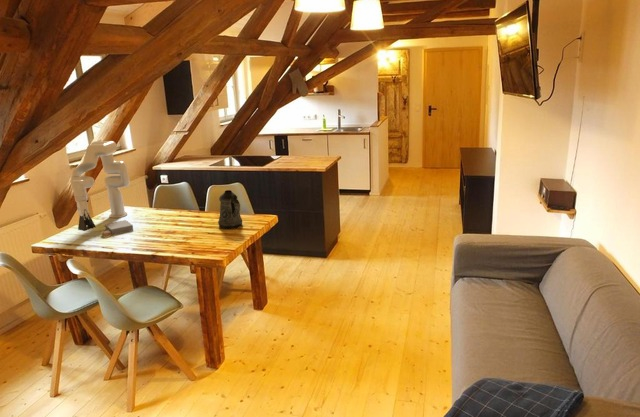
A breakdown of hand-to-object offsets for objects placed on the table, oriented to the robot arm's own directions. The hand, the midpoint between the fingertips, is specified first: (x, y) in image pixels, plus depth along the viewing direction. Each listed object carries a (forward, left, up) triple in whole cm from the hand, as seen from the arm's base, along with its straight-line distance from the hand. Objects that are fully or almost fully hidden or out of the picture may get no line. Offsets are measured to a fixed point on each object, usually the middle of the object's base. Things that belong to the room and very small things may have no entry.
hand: (86, 223), depth 309 cm
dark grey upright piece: (+48, +82, -9) cm, 96 cm away
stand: (+2, +20, -8) cm, 21 cm away
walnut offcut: (+9, +10, -9) cm, 16 cm away
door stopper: (0, 0, -3) cm, 3 cm away
